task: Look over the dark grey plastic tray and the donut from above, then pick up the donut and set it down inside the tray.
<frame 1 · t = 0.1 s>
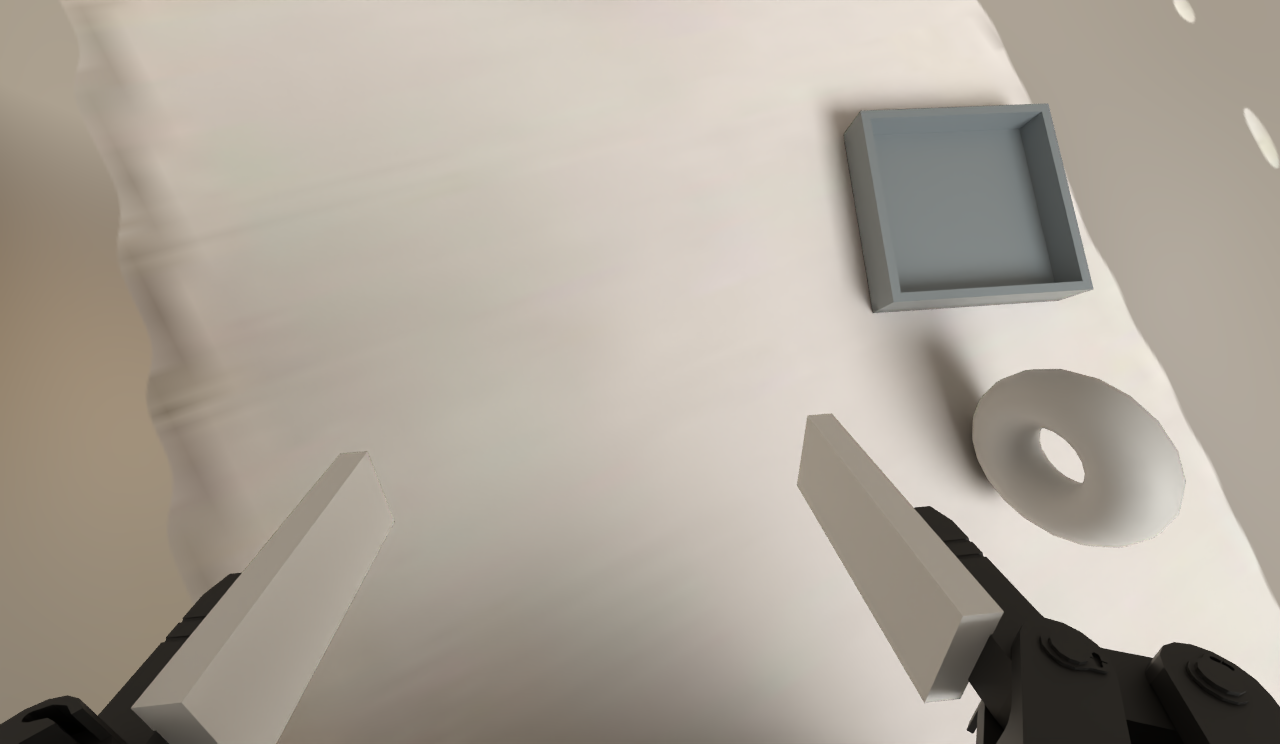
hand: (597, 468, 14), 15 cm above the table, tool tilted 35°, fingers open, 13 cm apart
donut: (985, 453, 30), on the table
tray: (948, 215, 33), on the table
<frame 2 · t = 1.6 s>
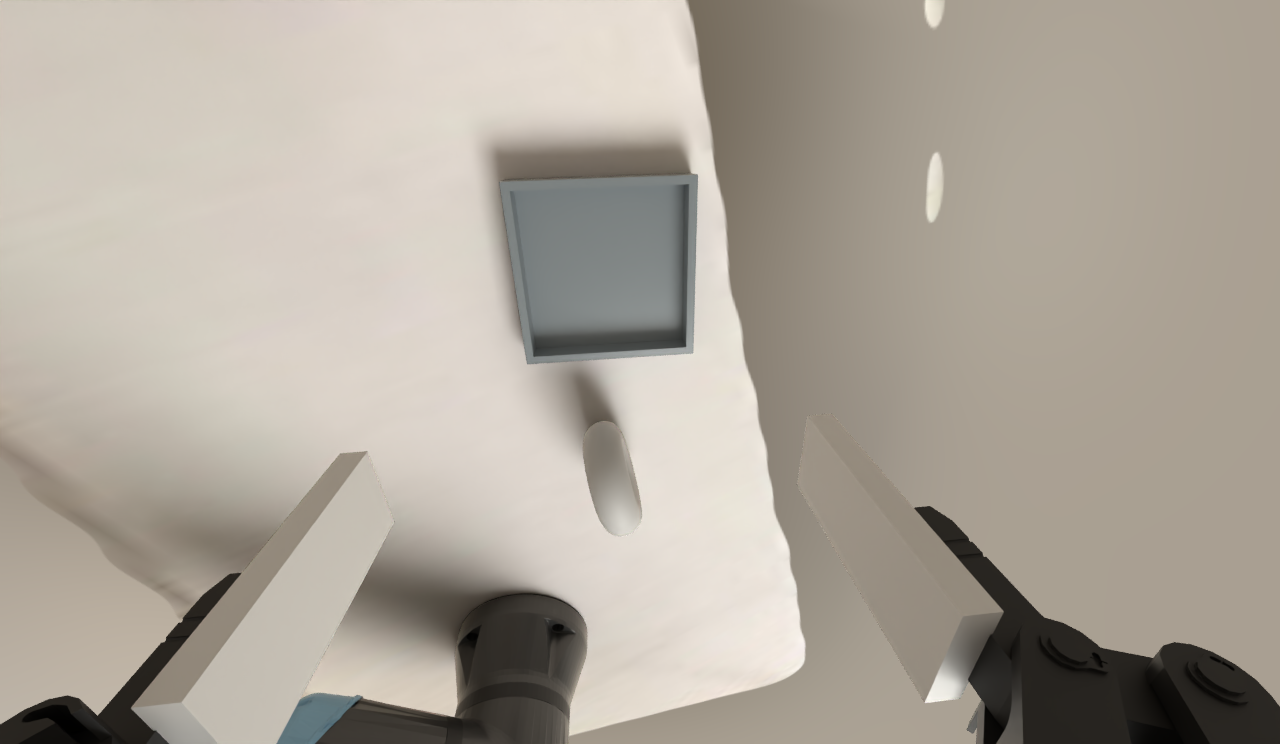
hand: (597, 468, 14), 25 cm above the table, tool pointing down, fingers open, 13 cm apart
donut: (610, 442, 44), on the table
tray: (605, 269, 36), on the table
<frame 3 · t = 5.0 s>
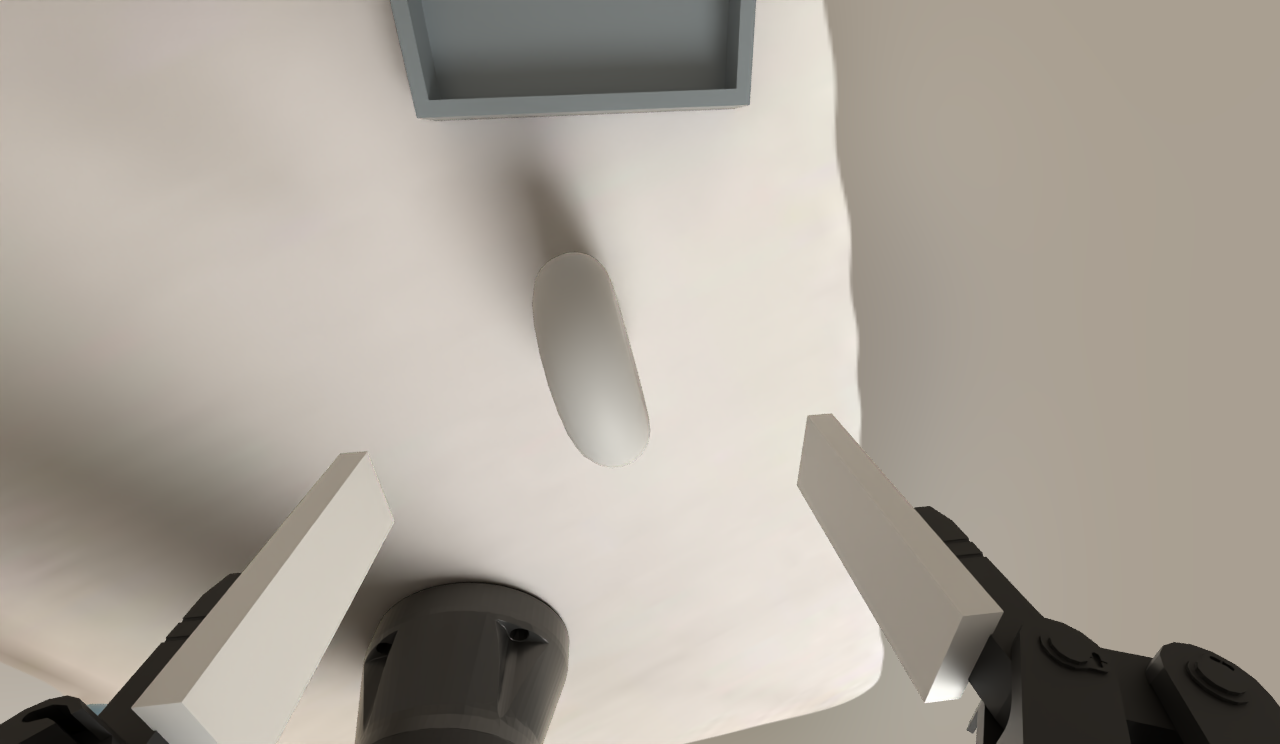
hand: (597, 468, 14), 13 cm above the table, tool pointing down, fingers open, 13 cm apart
donut: (595, 321, 26), on the table
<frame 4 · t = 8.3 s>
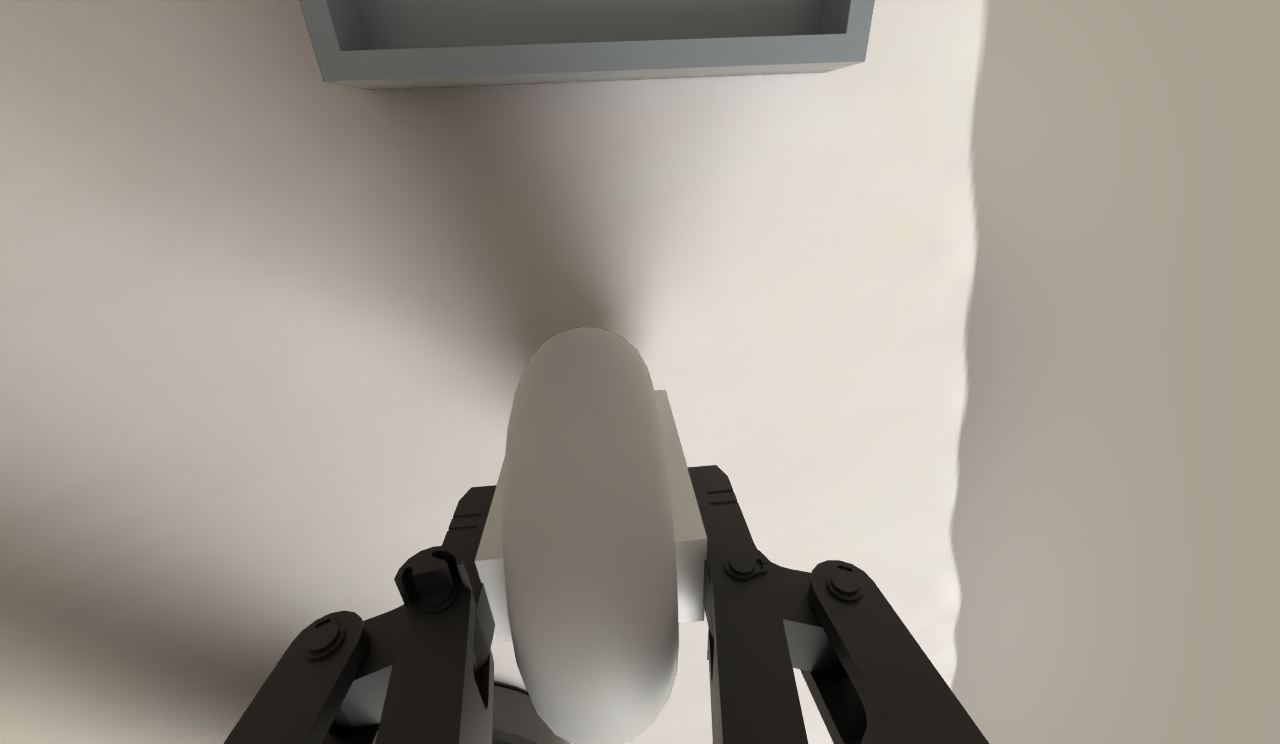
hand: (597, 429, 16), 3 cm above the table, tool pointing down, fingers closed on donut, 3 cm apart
donut: (599, 408, 17), point 2 cm above the table, touching gripper
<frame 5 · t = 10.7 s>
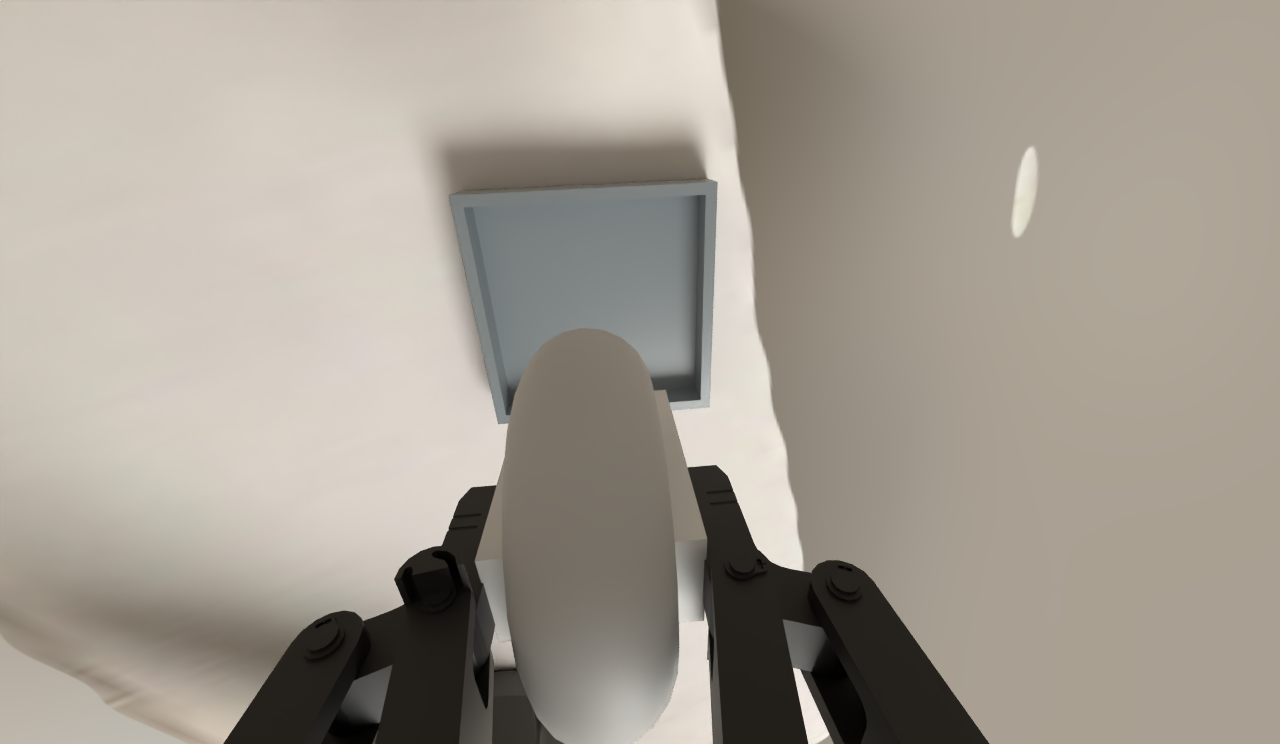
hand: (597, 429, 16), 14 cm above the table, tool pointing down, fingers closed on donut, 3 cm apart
donut: (599, 409, 17), point 13 cm above the table, touching gripper
tray: (596, 302, 28), on the table
when the fingers open (4 cm above the table, at t = 13.1 s): donut drops 2 cm, resting on tray.
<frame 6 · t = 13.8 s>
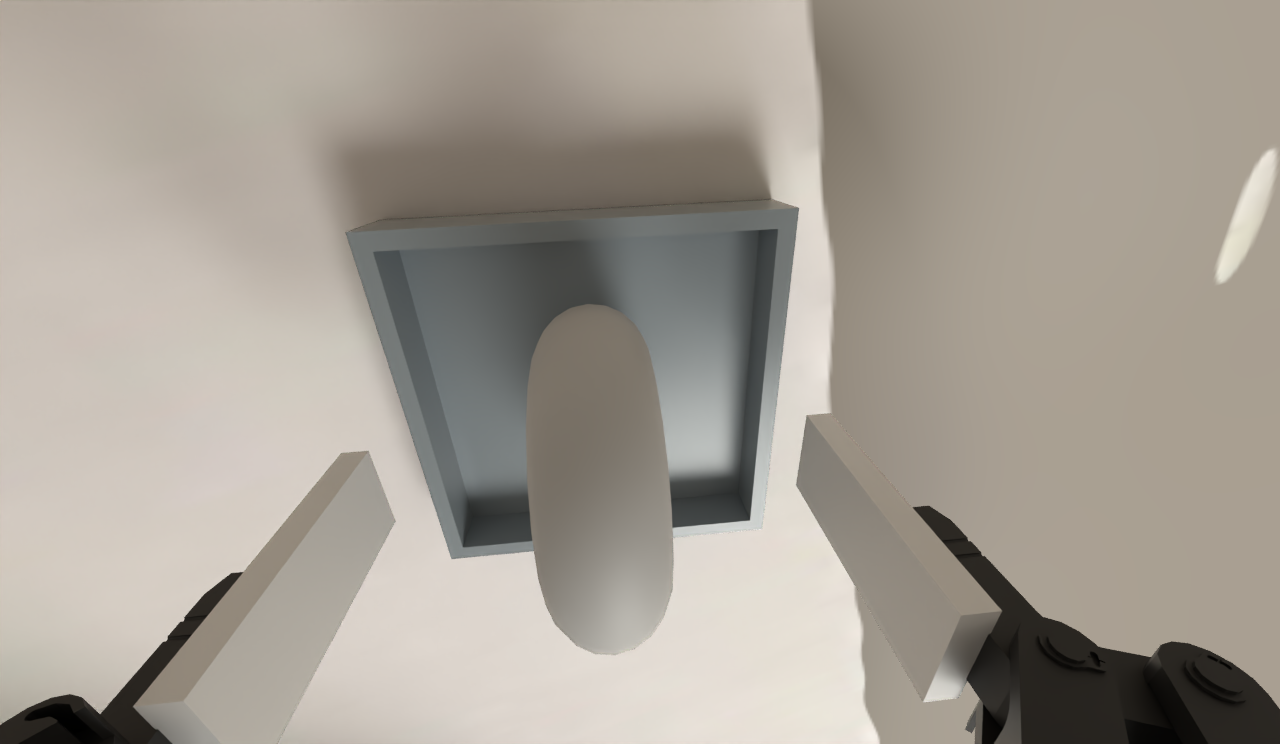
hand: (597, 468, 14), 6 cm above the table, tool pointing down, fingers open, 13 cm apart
donut: (600, 386, 19), resting on tray
tray: (597, 381, 19), on the table
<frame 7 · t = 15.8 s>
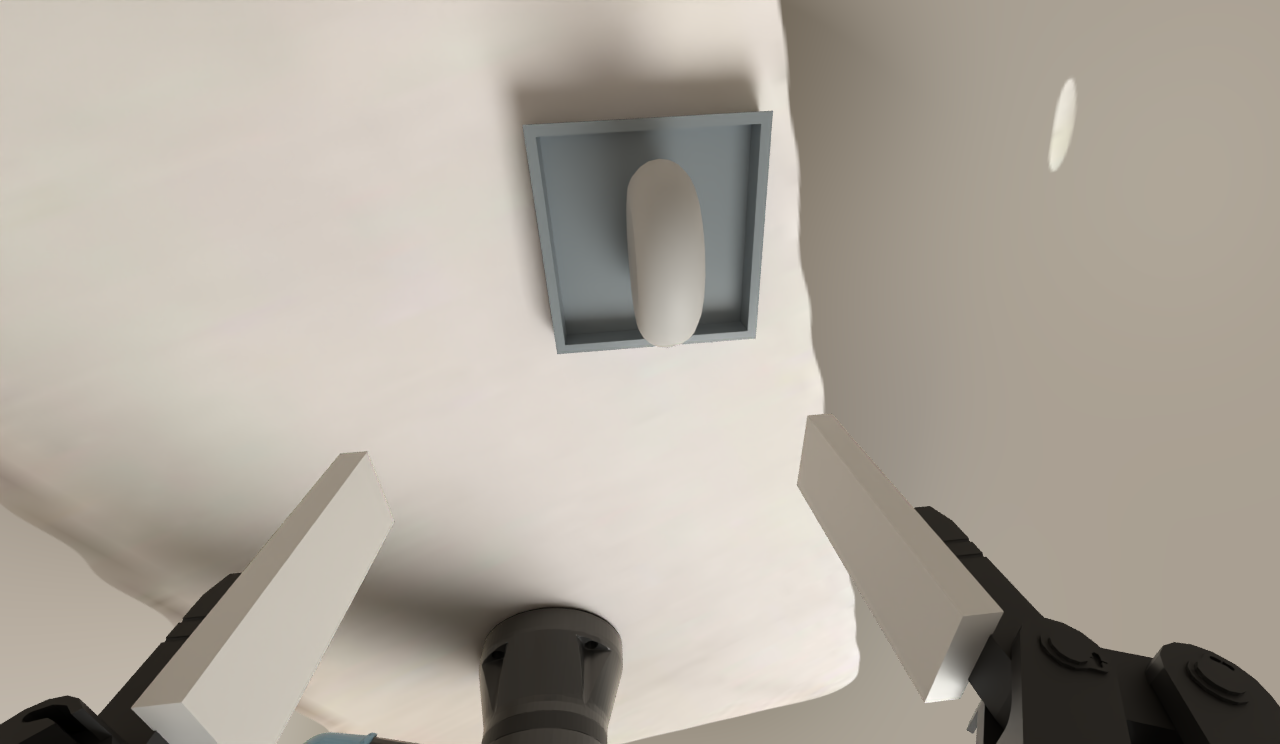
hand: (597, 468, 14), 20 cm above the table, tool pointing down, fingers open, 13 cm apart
donut: (652, 238, 30), resting on tray
tray: (650, 237, 30), on the table
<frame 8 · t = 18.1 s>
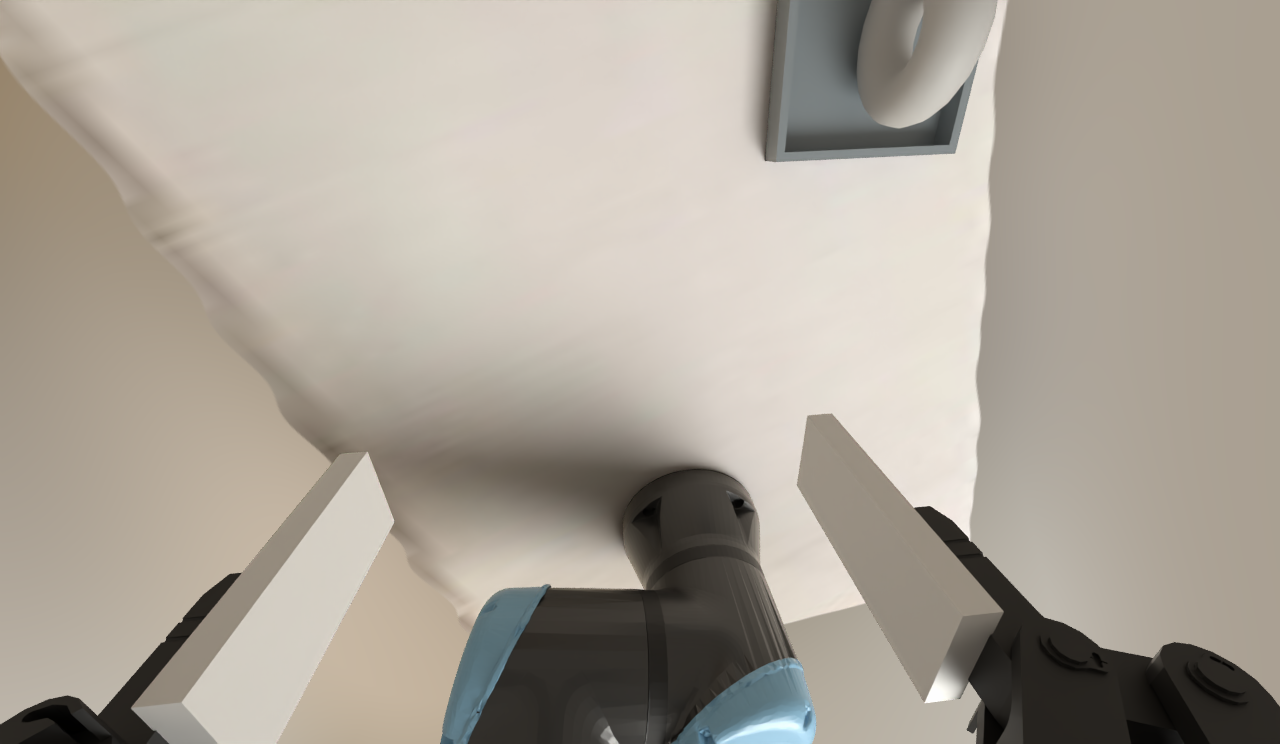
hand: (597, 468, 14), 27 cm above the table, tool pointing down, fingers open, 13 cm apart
donut: (871, 50, 32), resting on tray
tray: (866, 51, 32), on the table
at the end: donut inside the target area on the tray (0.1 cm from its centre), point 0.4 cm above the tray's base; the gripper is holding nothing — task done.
